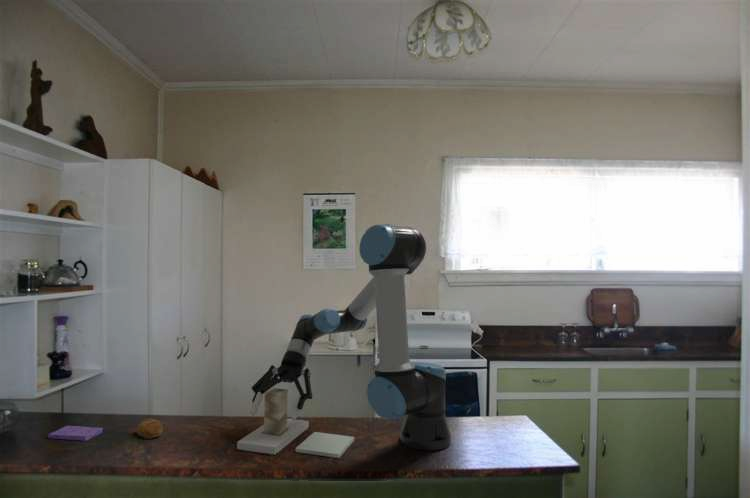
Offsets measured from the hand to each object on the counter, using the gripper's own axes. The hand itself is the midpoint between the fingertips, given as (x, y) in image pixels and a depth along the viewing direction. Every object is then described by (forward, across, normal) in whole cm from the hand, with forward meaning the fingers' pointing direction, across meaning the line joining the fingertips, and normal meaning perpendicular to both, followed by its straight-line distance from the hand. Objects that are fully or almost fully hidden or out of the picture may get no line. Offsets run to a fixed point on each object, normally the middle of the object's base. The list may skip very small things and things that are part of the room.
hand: (272, 416), depth 133 cm
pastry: (+10, +38, 0) cm, 39 cm away
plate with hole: (+4, 0, -6) cm, 7 cm away
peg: (+4, 0, -6) cm, 7 cm away
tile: (+4, -17, -6) cm, 19 cm away
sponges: (+16, +58, +6) cm, 60 cm away
